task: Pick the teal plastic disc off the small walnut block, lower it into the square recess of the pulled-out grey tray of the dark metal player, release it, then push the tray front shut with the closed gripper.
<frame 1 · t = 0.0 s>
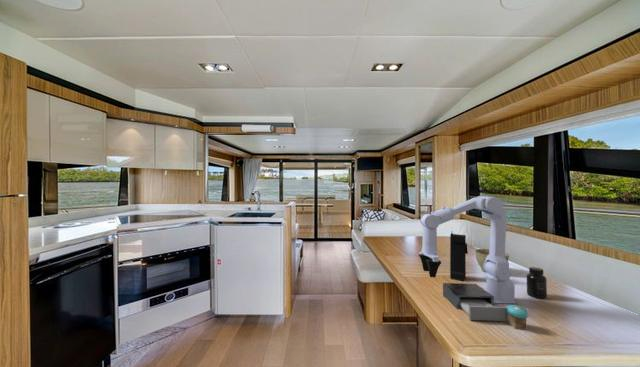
hand: (429, 273, 113), 10 cm above the table, fingers open, 7 cm apart
disc: (517, 314, 90), point 4 cm above the table, touching tray, walnut block
tray: (479, 305, 99), point 3 cm above the table, slide at 8.0 cm, touching disc
planter bowl: (491, 272, 148), on the table
walnut block: (517, 325, 90), on the table
portable radio: (458, 278, 137), on the table
supplement bottle: (536, 296, 115), on the table
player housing: (467, 302, 108), on the table
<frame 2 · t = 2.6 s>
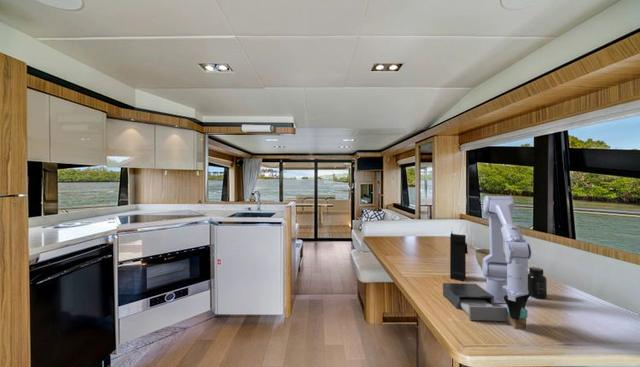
hand: (517, 316, 90), 3 cm above the table, fingers closed on disc, 6 cm apart
disc: (517, 314, 90), point 4 cm above the table, touching gripper, tray, walnut block
everything else where it was.
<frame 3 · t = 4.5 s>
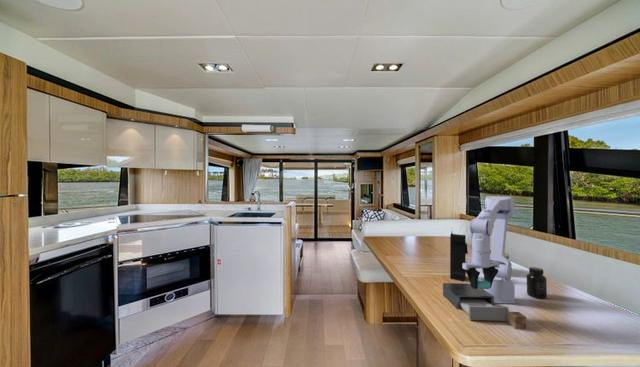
hand: (481, 287, 98), 10 cm above the table, fingers closed on disc, 6 cm apart
disc: (481, 286, 98), point 11 cm above the table, touching gripper
tray: (479, 305, 99), point 3 cm above the table, slide at 8.0 cm
everything else where it was.
when the fingers open (3 cm above the table, at t = 6.3 s): disc drops 2 cm, resting on tray.
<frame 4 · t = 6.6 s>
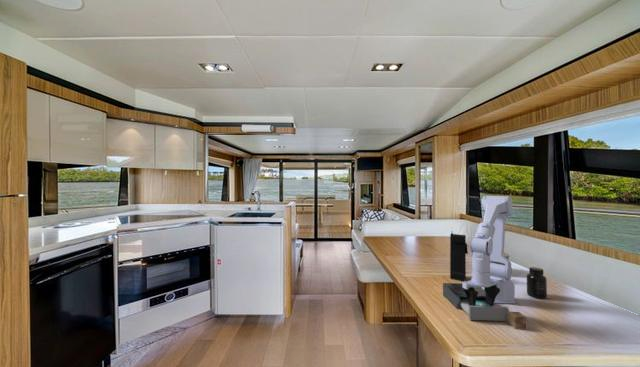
hand: (480, 306, 98), 3 cm above the table, fingers open, 7 cm apart
disc: (481, 310, 98), point 2 cm above the table, touching tray
tray: (479, 305, 99), point 3 cm above the table, slide at 8.0 cm, touching disc
everything else where it was.
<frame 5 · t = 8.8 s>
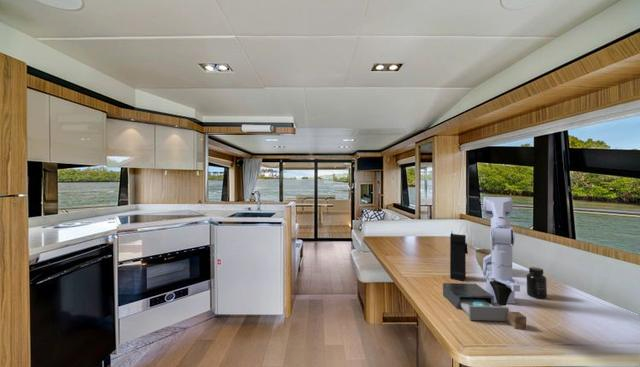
hand: (501, 304, 88), 8 cm above the table, fingers closed
nothing on the table moved.
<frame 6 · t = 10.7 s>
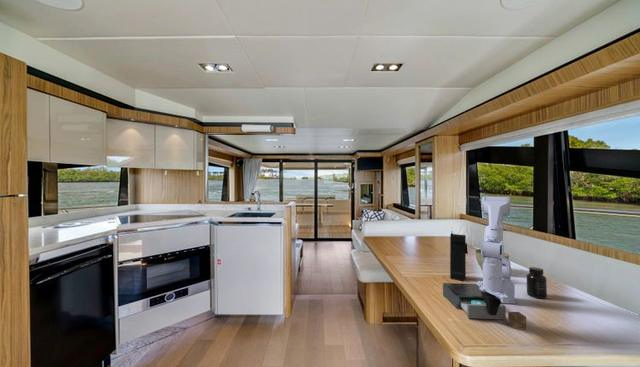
hand: (492, 314, 93), 3 cm above the table, fingers closed
disc: (479, 308, 99), point 2 cm above the table, touching tray
tray: (477, 304, 101), point 3 cm above the table, slide at 6.7 cm, touching disc, gripper
everything else where it was.
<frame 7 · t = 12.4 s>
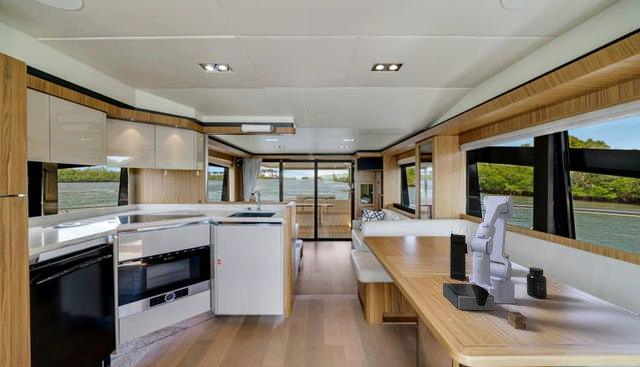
hand: (481, 305, 100), 3 cm above the table, fingers closed
disc: (470, 300, 106), point 2 cm above the table, touching tray
tray: (468, 296, 107), point 3 cm above the table, slide at 0.0 cm, touching disc, gripper
everything else where it was.
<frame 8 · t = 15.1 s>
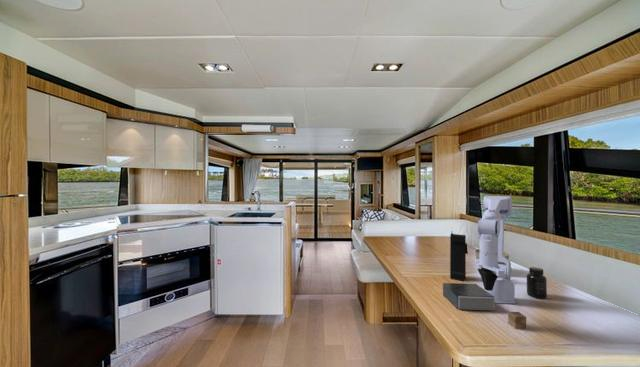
hand: (488, 289, 95), 10 cm above the table, fingers closed
tray: (468, 296, 107), point 3 cm above the table, slide at 0.0 cm, touching disc
everything else where it was.
at the end: tray slide at 0.0 cm; disc inside the target area on the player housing (2.0 cm from its centre), point 1.7 cm above the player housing's base; the gripper is holding nothing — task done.
